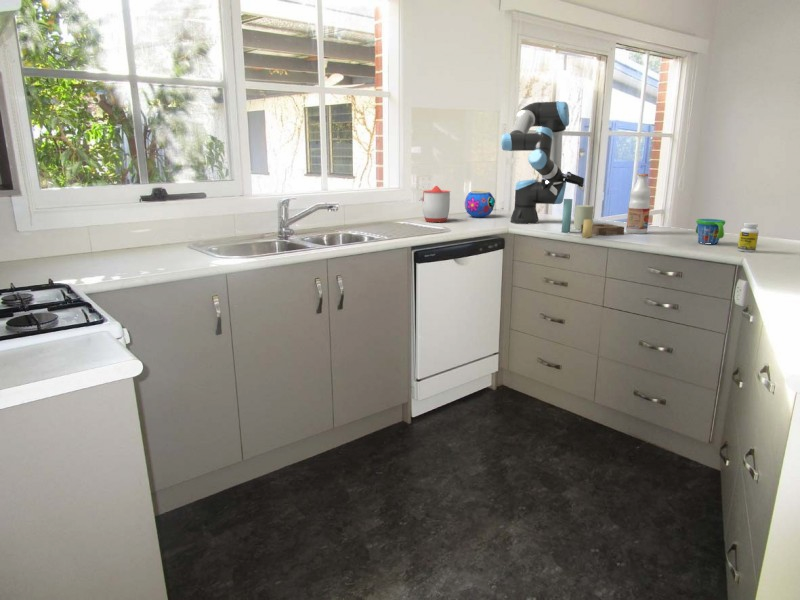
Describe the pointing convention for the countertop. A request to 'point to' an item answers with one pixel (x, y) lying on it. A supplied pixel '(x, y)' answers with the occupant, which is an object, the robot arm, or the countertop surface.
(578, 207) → the can
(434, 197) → the citrus juicer
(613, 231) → the walnut block
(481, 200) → the ceramic pot
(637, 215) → the fruit juice
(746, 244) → the pill bottle
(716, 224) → the snack cup
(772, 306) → the countertop surface
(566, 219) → the tall dowel
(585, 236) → the short dowel
